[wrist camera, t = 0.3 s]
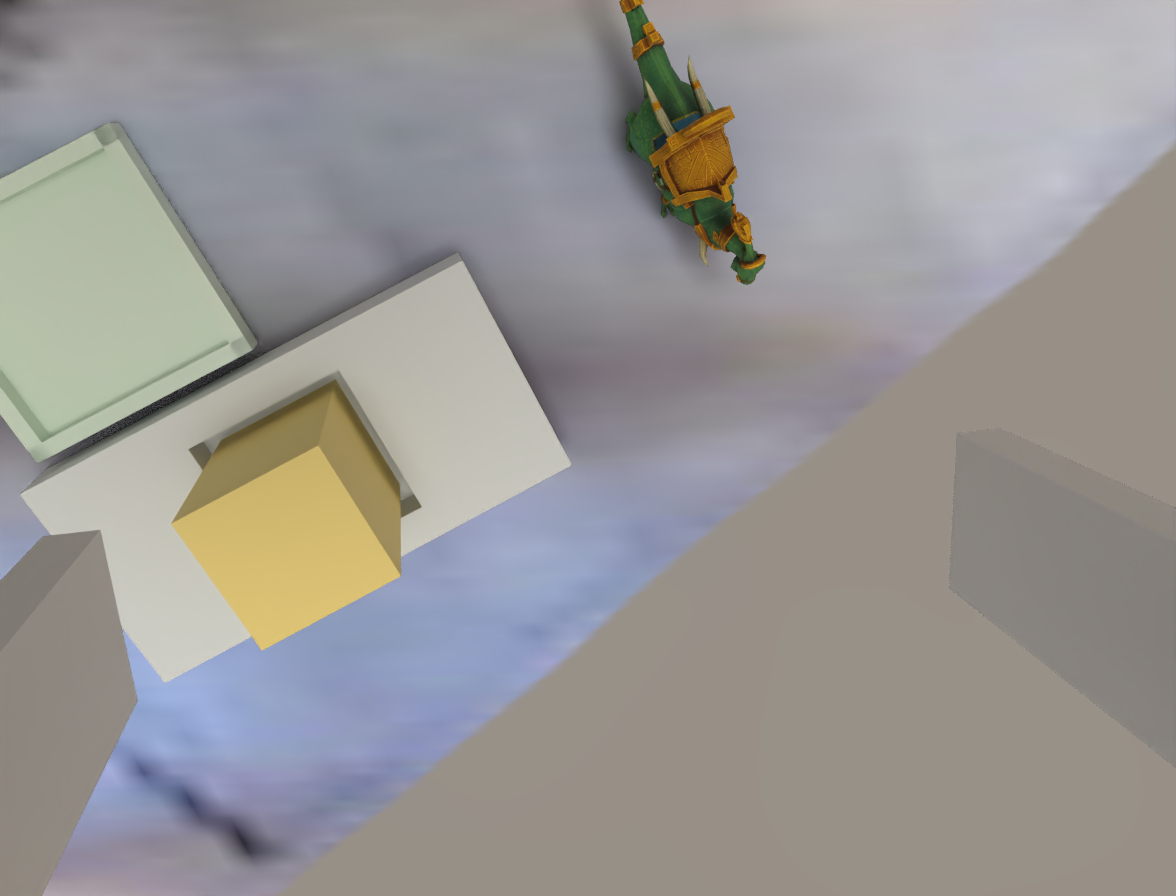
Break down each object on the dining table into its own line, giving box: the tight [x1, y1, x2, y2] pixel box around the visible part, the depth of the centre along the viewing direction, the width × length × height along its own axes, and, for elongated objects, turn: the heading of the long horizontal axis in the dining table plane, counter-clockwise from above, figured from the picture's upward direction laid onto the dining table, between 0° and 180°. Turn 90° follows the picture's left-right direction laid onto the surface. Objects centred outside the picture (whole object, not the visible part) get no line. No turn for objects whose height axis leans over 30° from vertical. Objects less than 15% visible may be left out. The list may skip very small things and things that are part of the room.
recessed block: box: [19, 252, 572, 683], centre depth 39 cm, size 9×18×3 cm, turn 116°
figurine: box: [620, 0, 766, 285], centre depth 35 cm, size 3×12×8 cm, turn 26°
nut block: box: [171, 379, 401, 650], centre depth 35 cm, size 5×5×9 cm
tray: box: [0, 123, 258, 464], centre depth 36 cm, size 9×9×2 cm
